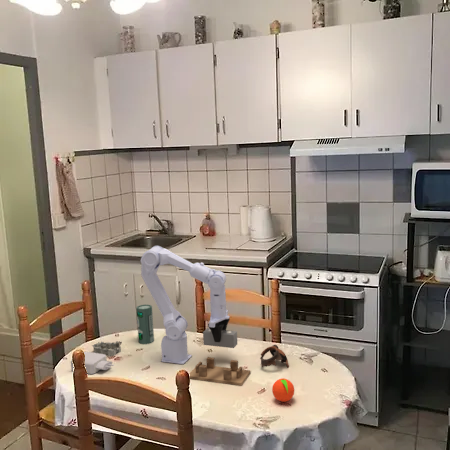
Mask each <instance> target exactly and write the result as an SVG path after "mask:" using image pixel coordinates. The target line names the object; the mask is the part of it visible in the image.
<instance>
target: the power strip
mask: <svg viewBox="0 0 450 450" xmlns="http://www.w3.org/2000/svg"><path fill="white" fill-rule="evenodd" d="M202 335H203V336H202V339H203V340H202V341H203V346H210V347H219V348H227V349H235V348H236V347H237V346H238V331H237V330H227V329H226V330H222V333H221V341H220V342H215V341H214V338H213V335H212V332H211V330H210V328H209V327H208V328H205V330H204V331H202Z"/></svg>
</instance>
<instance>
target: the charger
mask: <svg viewBox="0 0 450 450" xmlns="http://www.w3.org/2000/svg"><path fill="white" fill-rule="evenodd" d="M83 352H84V354H85V367H86V370H87V372H88V374H87V375H94V374H96V373H98V372H99V371H102V370H103V371H107V370H108V369H112V367H114V366H115V364H113V362H112V361H107V355H105V354H101V353H94V351H93V352H91V351H83ZM70 368H71V371H73V368H74V367H73V363H72V359H71V361H70ZM73 372H74V371H73Z"/></svg>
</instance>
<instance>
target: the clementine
mask: <svg viewBox="0 0 450 450" xmlns="http://www.w3.org/2000/svg"><path fill="white" fill-rule="evenodd" d="M271 390H272V391H271V392H272V395H273V397H274V398H275V399H276V400H277V401H278V402H283V403H285V402H289V401H290V400H291V399H292V398H293V397H294V395H295V387H294V384H293V382H291V381H290V380H289V379H287V378H282V377H281V378H279V379H277V380H275V382H274V383H273V385H272V389H271Z"/></svg>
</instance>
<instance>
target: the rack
mask: <svg viewBox="0 0 450 450" xmlns="http://www.w3.org/2000/svg"><path fill="white" fill-rule="evenodd" d="M229 361H230V362H229V364H230V365H229V367H225V366H217V365H216V362H215V357H209V356H208V357H206V364H203V361H199V362H198V363H197V364H196V365H195V367H194V368H193V369H192V370H191V371H190V372H189V373H188V374H190V379H189V380H195V381H203V382H211V383H217V384H223V385H224V384H225V385H226V384H227V385H232V386H238V387H242V386H243V385H244V383H245V382H246V381H247V379H248V378H249V376H250V375H251V373H252V372H251V370H249V369H243V366H239V360H238V359H237V360H236V359H231V360H229Z"/></svg>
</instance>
